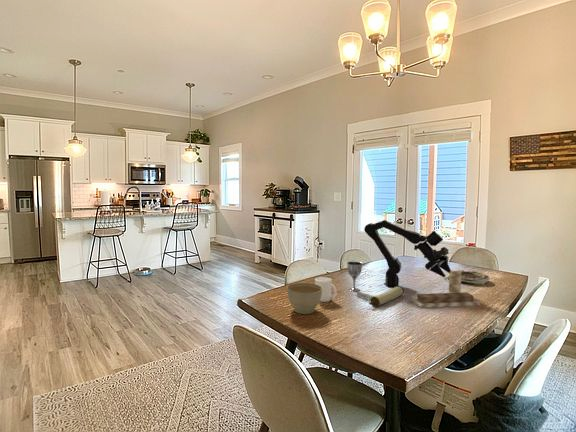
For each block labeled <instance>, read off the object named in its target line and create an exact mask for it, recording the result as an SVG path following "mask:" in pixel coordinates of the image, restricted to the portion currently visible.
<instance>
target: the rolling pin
mask: <svg viewBox="0 0 576 432" xmlns="http://www.w3.org/2000/svg"><path fill="white" fill-rule="evenodd" d="M404 294H405V289H404V288H403V287H402V286H400V285H399V286H398V287H392V288H390V289H389V290H387V291H384V292H382V293H380V294H377V295H372V296H371V297H370V302H369V303H368V305H371V306H372V307H374V308H378V307H379V306H381V305H384V304H386V303H388V302H390V301H393V300H394V299H396V298H398V297H401V296H403V295H404Z"/></svg>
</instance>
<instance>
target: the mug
mask: <svg viewBox="0 0 576 432" xmlns="http://www.w3.org/2000/svg"><path fill="white" fill-rule="evenodd" d="M332 282H333V281H332V278H329V277H327V276H326V277H325V276H319V277H316V278H315V279H314V284H316V285H319V286H321V287H322V295H321V299H320V302H322V303H323V302H324V303H326V302H330V301H331V300H332V299H334V298H336V296H337V294H338V293H337V292H338V291H337V288H336V286H335V284H333V283H332ZM332 289H333V294H332ZM320 302H319V303H320Z"/></svg>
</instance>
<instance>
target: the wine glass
mask: <svg viewBox="0 0 576 432" xmlns="http://www.w3.org/2000/svg"><path fill="white" fill-rule="evenodd" d="M346 263H347V265H346V266H347V267H346V268H347V273H348V275H349V276H350V277H351V279H352V282H353V285H352V287H350V288H349V289H348V288H347V291H348V290H349V292H351V291H352V293H358V292H361V291H362V290H361V289H360V288H357V287H356V280H357V278H358V277H359V276H360V275H361V273H362V269H363V263H362V262H359V261H348V262H346Z"/></svg>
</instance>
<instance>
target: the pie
mask: <svg viewBox="0 0 576 432" xmlns="http://www.w3.org/2000/svg"><path fill="white" fill-rule="evenodd" d="M455 271H460V272H462V275H461V284H468V285H471V284H472V285H471V286H473V285H474V286H476V285H477V286H478V284H479V285H480V286H484V285H485V284H486V283H487V282H489V280H490V277H489V275H488V274H484V273H482V272H478V271H474V270H472V271H471V270H467V271H466V270H463V269H462V270H461V269H460V270H458V269H457V270H456V269H455ZM449 275H450V274H449V273H448V272H447V276H445V277H443V278H444V280H445V281H447V279H448V280H449Z"/></svg>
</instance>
